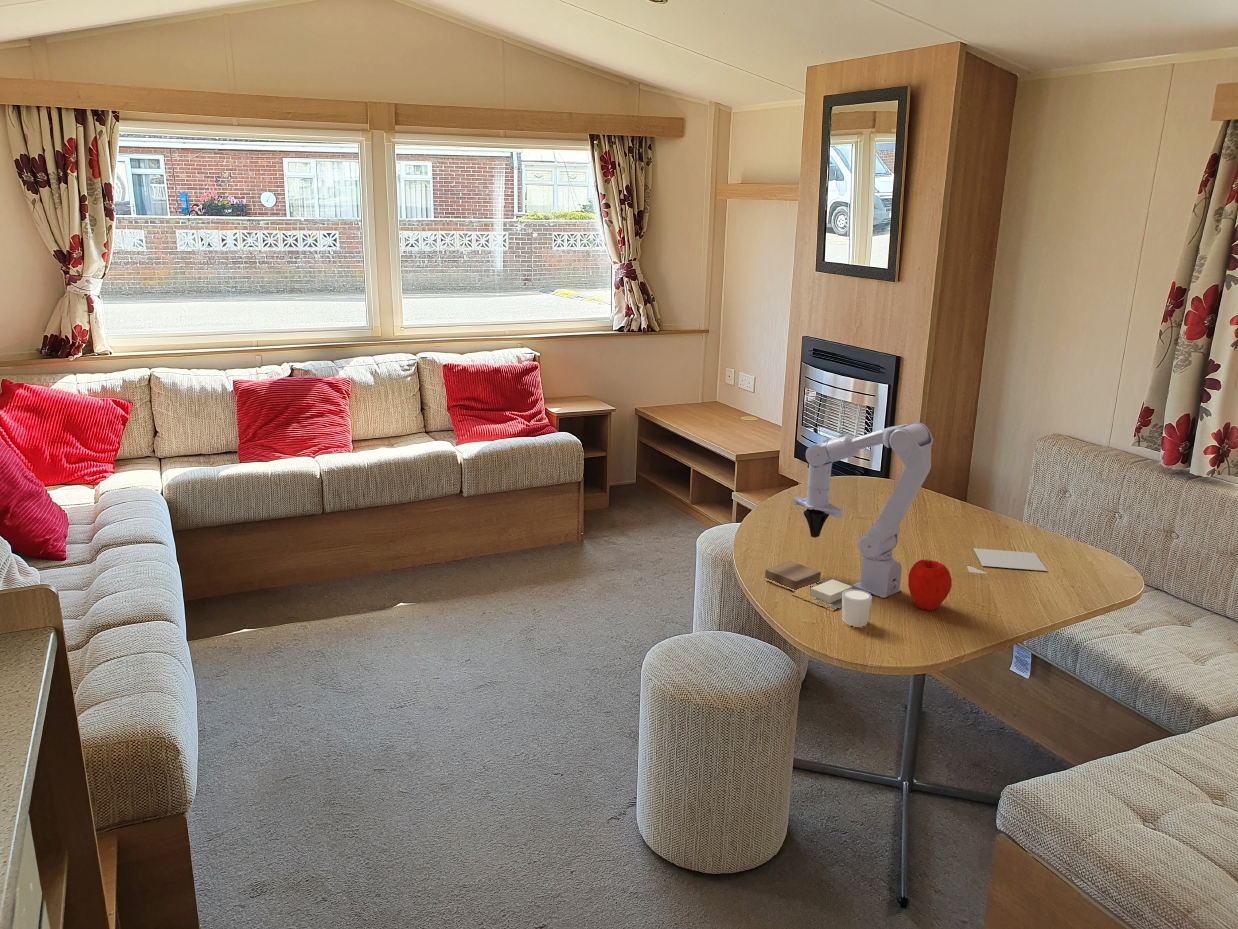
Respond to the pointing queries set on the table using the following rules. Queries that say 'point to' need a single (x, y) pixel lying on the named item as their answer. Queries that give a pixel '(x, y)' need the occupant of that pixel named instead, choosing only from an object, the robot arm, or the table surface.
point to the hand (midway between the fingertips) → (815, 536)
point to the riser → (793, 575)
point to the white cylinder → (856, 607)
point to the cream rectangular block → (829, 590)
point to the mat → (839, 602)
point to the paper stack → (1007, 560)
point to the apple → (929, 583)
